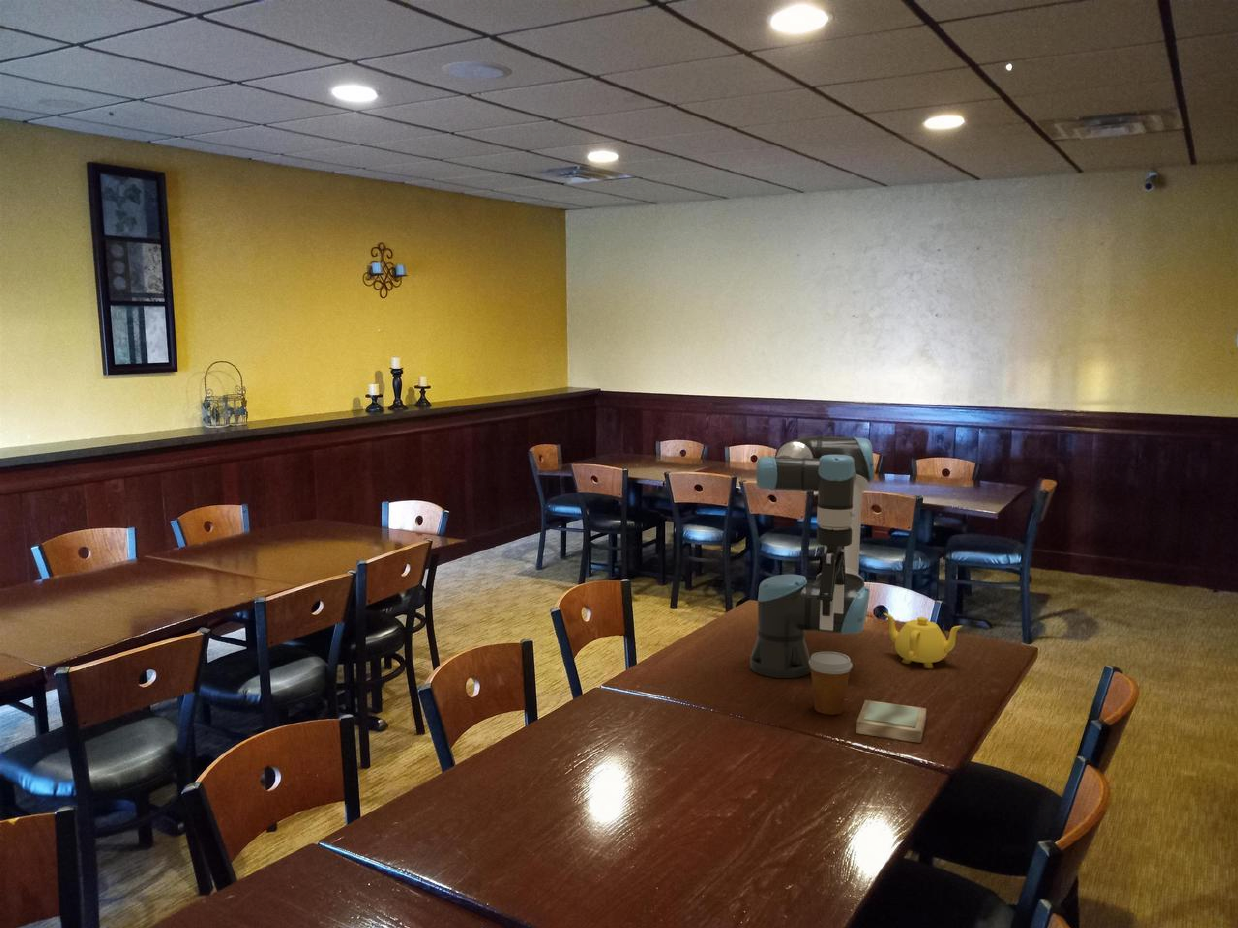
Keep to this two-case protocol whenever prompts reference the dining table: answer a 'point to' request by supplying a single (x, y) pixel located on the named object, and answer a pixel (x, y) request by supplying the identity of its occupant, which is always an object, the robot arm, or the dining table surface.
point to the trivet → (891, 721)
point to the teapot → (921, 641)
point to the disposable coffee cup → (829, 681)
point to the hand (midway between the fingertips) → (831, 620)
